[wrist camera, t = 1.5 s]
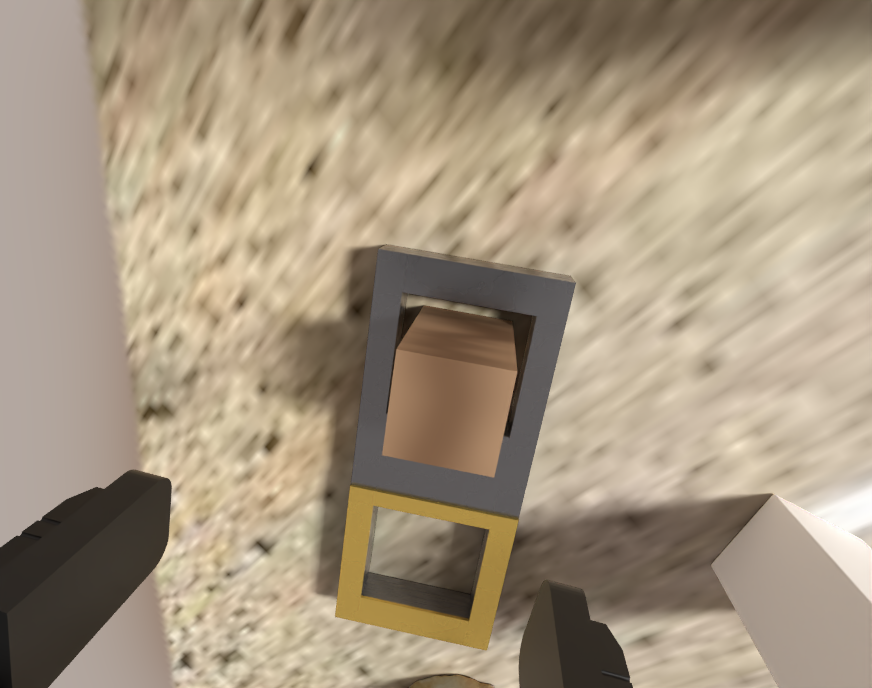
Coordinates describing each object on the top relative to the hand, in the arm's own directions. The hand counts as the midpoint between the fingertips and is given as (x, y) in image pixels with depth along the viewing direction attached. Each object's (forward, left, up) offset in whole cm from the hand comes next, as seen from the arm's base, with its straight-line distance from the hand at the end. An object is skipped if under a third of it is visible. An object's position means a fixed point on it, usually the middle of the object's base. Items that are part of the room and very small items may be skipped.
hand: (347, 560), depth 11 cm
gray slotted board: (-1, +8, -19) cm, 21 cm away
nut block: (-1, +2, -19) cm, 19 cm away
